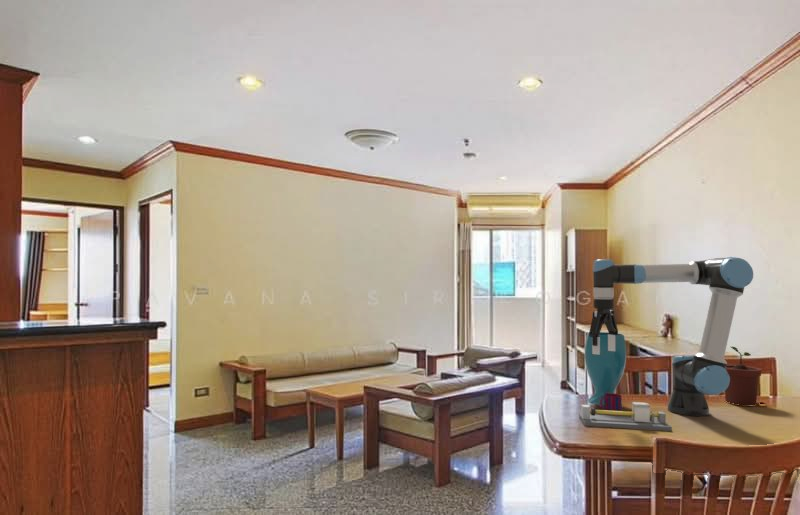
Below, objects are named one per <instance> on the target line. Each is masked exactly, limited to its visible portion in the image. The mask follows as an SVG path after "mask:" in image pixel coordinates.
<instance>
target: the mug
mask: <svg viewBox="0 0 800 515" xmlns="http://www.w3.org/2000/svg"><path fill="white" fill-rule="evenodd" d="M603 399H604V405H602V401H603ZM621 403H622V395H621V394H618V393H615V394H614V393H605V394H604V397H602V398H601V399H600V405H599V406H600V408H601V410H607V411H622V405H621Z"/></svg>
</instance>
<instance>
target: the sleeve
mask: <svg viewBox="0 0 800 515" xmlns="http://www.w3.org/2000/svg"><path fill="white" fill-rule="evenodd" d="M650 407H651V406H650V404H649V403H647V402H646V401H644V402H643V401H642V402H641V401H631V412H634V416H631V417H632V419H634V421H636V422H650V411H651V408H650Z"/></svg>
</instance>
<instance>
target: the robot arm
mask: <svg viewBox="0 0 800 515" xmlns="http://www.w3.org/2000/svg"><path fill="white" fill-rule="evenodd" d="M592 267H593V268H592V274H593V275H592V276H593V278H592V280H593V282H592V284H593V290H592V292H593V298H594V299H593V308H594V309H596V311H592V317H591V318H592V319H591V322H590V327H589V332H588V333H589V336H590V337H592V354H597V355H600V337H599V334H600V332H601V331H602V328H603V325H604V324H605V327H606V329H607V331H608V332H607V333H609V334H608V351H615V335H618V334H619V329H618V325H617V321H616V316H615V310H613V309H614V307H615V301H614V299H613V298H614V297H615V292H614V290H615V289H614V288H615V287H614V284H627V285H628V284H630V285H631V284H635V285H636V284H637V285H638V284H643V283H645V284H646V283H647V284H648V283H650V284H651V283H653V284H655V283H658V284H659V283H689V284H691V285H700V286H701V285H703V286H708V288H709V290H710V291H711V296H710V303H709V305H708V306H709V307H708V310H707V315H706V320H705V325H704V328H703V331H702V332H703V333H702V339H701V342H700V346H699V351H698V352H696V353H695V354H693V355H689V356H688V355H675V356H673V358H672V362H671V366H672V370H671V371H672V391H671V394H670V397H669V400H668V403H667V410H668V411H669V412H672V413H674V414H679V415H684V416H693V417H705V416H709V415H710V407H709V404H708V402H707V399H706V396H705V395H707V396H708V395H709V396H716V395H717V396H718V395H720V394H722V393H725V390H726V389H727V387H728V386H729V382H730V377H729V374H728V373H727V371H726V367H727V365H728V362H727V360H725V355H726V349H727V345H728V342H729V337H730V333H731V327H732V322H733V318H734V315H735V309H736V306H737V300H738V298H739V297H741V296H743V295H744V292H745V288H746V287H747V286H748V285H750V284H751V283H752V281H753V279H754V269H753V267H752V266H751V264H750V263H749V262H748V261H747V260H746V259H745V258H744V259H743V258H741V257H736V256H735V257H734V256H733V257H732V256H729V257H718V258H710V259H705V260H695V261H693V260H692V261H690V262H689V263H671V264H670V263H669V264H667V263H666V264H661V263H660V264H614V260H613V259H595V260H594V261H593V266H592Z"/></svg>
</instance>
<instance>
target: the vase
mask: <svg viewBox="0 0 800 515" xmlns="http://www.w3.org/2000/svg"><path fill="white" fill-rule="evenodd" d="M608 334H609V332H601V331H600V334H599V337H600V355H597V354H592V337H590V336H589V332H587V333H586V336H585V337H586V338H585V343H584V344H585V345H584V364H585V369H586V371H587V374H588V377H589V379H590V381H591V384H592V386H593V389H594V394H593V395H592V396H591V397H589V398H588V399H587V401H588V403H589V404H594V405H597V406H600V399H601V398H602V397H604V394H605V393H614V394H616V389H617V388H618V386H619V384H620V382H621V379H622V377H623V376H624V372H625V368H626V363H627V347H626V345H627V344H626V339H625V335H624V334H622V333H618V335H615V351H608ZM602 405H603V406H604V399H603V401H602ZM621 406H623V403H622V402H621Z"/></svg>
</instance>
